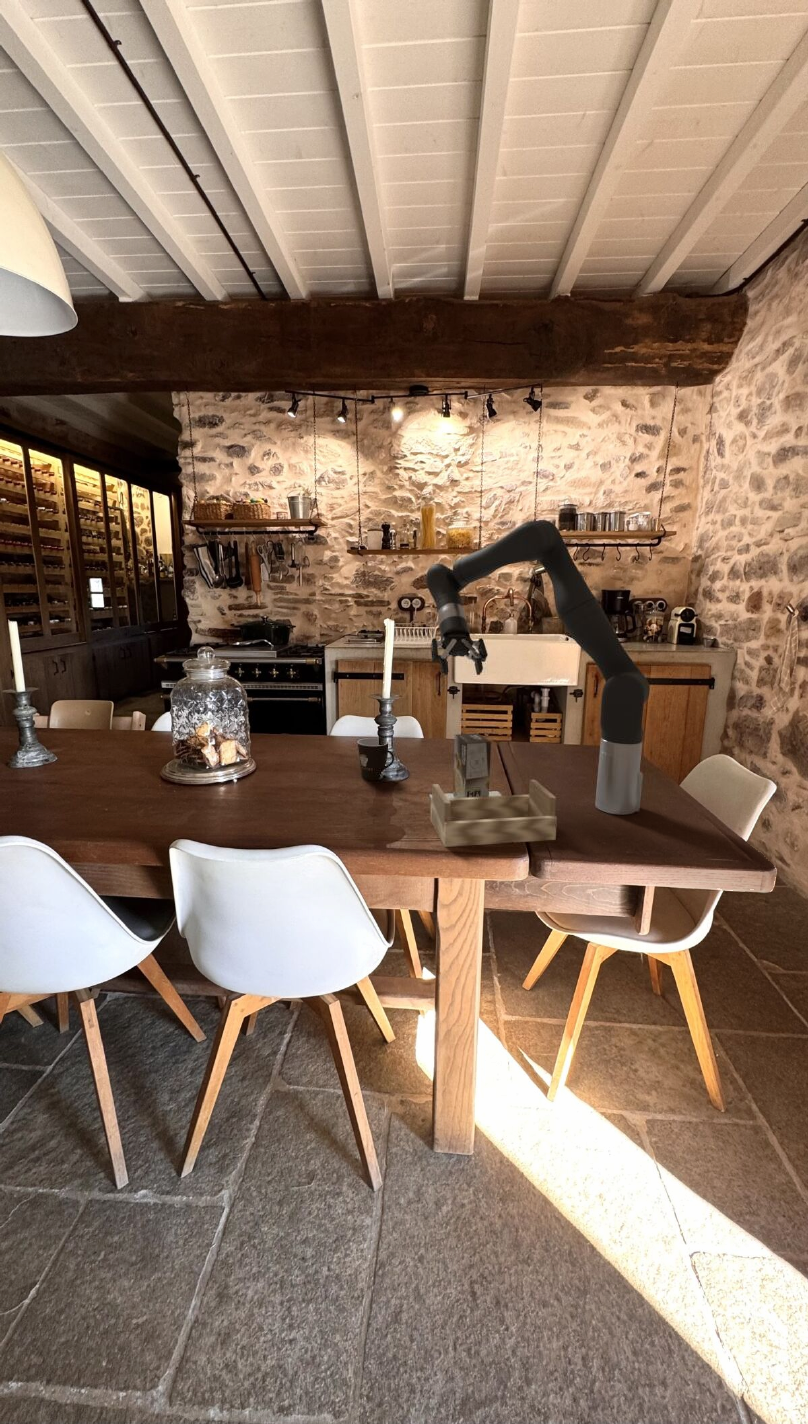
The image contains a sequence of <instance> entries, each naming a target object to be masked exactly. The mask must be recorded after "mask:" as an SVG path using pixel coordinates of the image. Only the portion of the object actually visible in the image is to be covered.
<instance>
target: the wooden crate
mask: <svg viewBox="0 0 808 1424" xmlns="http://www.w3.org/2000/svg"><path fill="white" fill-rule="evenodd" d="M431 790H432V791H431V793H432V799H431V798H430V822H431V824H432V825H433V828H434V829H435V831H436V833H437V835H438V836H439V838H440V840H441V843H442V844H443V846H444V847H445V848H448V847H464V846H465V847H466V846H478V845H493V844H495V845H496V844H497V845H498V844H508V843H509V844H510V842H511V844H512V842H513V843H524V842H525V843H527V842H542V841H543V842H544V841H556V836H557V821H558V816H557V815H555V814H556V801H557V797H556V796H555V795H554V794H552V793H551V792H550V790H548V789H547V788H545V787H544V786H543V785H542V784H541V783H540V782H538V781H537V780H536V779H529V786H528V794H513V795H502V796H489V797H469V798H449V799H448V798H447V797H446V796H445V794H446V793H445V792H444V791H443V789H442V788H441V787H440V785H439V784H438V783H436V784H435V783H433V784H432V789H431Z"/></svg>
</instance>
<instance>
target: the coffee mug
mask: <svg viewBox="0 0 808 1424" xmlns="http://www.w3.org/2000/svg"><path fill="white" fill-rule="evenodd" d="M379 738H380V737H366V738H360V739H358V740H357V748H358V749H357V750H358V756H359V764H360V765H359V766H360V774H361V778H362V779H364V780H368V781H378V780H379V778H380V774H381V772H382V771H383V770H384V769H385V770H386V769H388V768H389V767H391V766H392V765H393V764H394V761H395V755H394V753H393V752H392V751H391V750H389V745H390V744H389V743H390V741H389V740H388V742H387V744H384V745H379ZM388 754H390V756H391V761H390V762H389V764H387V760H388ZM385 764H386V766H385ZM379 781H380V780H379Z"/></svg>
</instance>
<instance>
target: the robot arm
mask: <svg viewBox="0 0 808 1424" xmlns="http://www.w3.org/2000/svg"><path fill="white" fill-rule="evenodd" d="M535 561H539V563H540V564H541V566H542V567H543V568H544V571H545V572H546V573H547V575H548V577H549V579H550V581H551V585H552V591H553V600H554V605H555V609H556V613H557V615H558V617H559V618H560V620H561V623H562V624H563V625H564V627H565V629H566V631H567V632H568V634H569V636H570V637H571V638H572V639H573V640H574V641H575V643H576V644H577V645H578V646H579V647H580V648H581V649H582V650H583V651H584V652H585V653H586V654H587V655H588V656H589V657H590V658H591V659H592V660H593V662H594V663H595V664H596V666H597V668H598V669H599V671H600V673H601V675H602V677H603V678H604V681H605V684H604V685H603V688H602V692H601V702H600V716H599V717H600V720H599V723H600V724H599V725H600V731H601V732H600V733H601V735H600V736H601V737H600V747H599V757H598V769H597V780H596V781H597V782H596V790H595V791H596V793H595V803H594V805H595V808H597V809H598V810H600V811H602V812H605V813H607V814H612V815H622V816H623V815H630V814H633V813H636V812H640V806H641V797H642V796H641V795H642V787H643V786H642V785H643V777H644V775H643V774H644V773H643V772H642V771H640V769H641V767H640V766H641V761H642V760H641V757H642V751H643V750H642V749H643V741H644V740H643V739H644V730H643V715H644V714H643V713H644V706H645V705H644V704H645V703H646V702H647V700H648V699H649V696H650V683H649V681H648V679H647V678H646V676H645V675H644V674H643V673H642V671H641V670H640V669H639V667H638V666H637V665H636V663H635V662H634V660H633V659H632V658H631V657H630V656H629V654H628V652H627V651H626V650H625V648H624V646H623V645H622V643H621V641H620V640H619V637H618V636H617V634H616V631H615V630H614V628H613V626H612V624H611V622H610V620H609V619H608V617H607V615H606V613H605V611H604V610H603V608H602V606H601V605H600V603H599V600H597V598H596V596H595V595H594V594H593V592H592V590H591V589H590V587H589V586H588V584H587V582H586V580H585V579H584V577H583V575H582V573H581V572H580V571H579V569H578V567H577V566H576V563H575V562H574V560H573V558H572V555H571V553H570V551H569V550H568V546H567V545H566V543H565V540H564V539H563V536H562V534H561V532H560V531H559V529H558V527H557V525H555V524H554V522H552V521H549V520H546V519H539V520H531V521H526V522H524V523H523V522H522V523H521V524H520V525H518V526H517V527H516V528H515V529H513V530H511V531H510V532H509V533H507V534H506V535H505V536H503V537H502V538H500V539H498V540H497V541H495V542H494V543H492V544H490V545H488V546H486V547H483V548H481V549H479V550H477V551H474V552H472V553H470V554H468V555H464V556H463V557H461V558H459V559H458V560H456V561H455V562H454V564H453V565H452V568H449V567H448V566H446V565H444V564H443V563H435V564H432V565H431V566H430V567H429V568H428V570H427V571H426V575H425V582H426V587H427V590H428V591H429V593H430V595H431V597H432V599H433V601H434V602H435V604H436V611H437V621H438V627H439V633H440V638H441V640H437V638H432V639H431V642H430V653H431V654H430V655H431V662H433V663H439V665H440V672H441V673H442V674H443V675H444V676H449V675H448V674H449V665H448V661H447V660H448V658H449V657H450V656H452V657H454V658H455V657H464V658H465V657H466V658H467V659H468V660H472V661H473V663H474V667H475V673H476V675H477V676H480V675H481V673H482V672H483V669H484V666H483V663H485V662H486V660H487V658H488V651H487V647H486V645H485V642H484V639H483V638H482V637H481V638H478V640H473V639H472V638H471V633H470V627H469V625H468V620H467V615H466V612H465V610H464V606H463V601H462V597H461V595H460V592H461V591H462V590H464V589H465V588H466V587H467V586H468V585H470V584H471V583H474V582H476V581H479V580H480V579H483V578H485V577H487V576H490V575H491V574H493V573H494V572H495V571H497V570H498V569H501V568H502V567H506V566H509V565H512V564H518V563H519V564H520V563H524V562H535ZM440 647H441V648H442V649H443V650H444V651H443V652H442V654H441V655H440V654H439V648H440ZM472 661H471V662H472Z"/></svg>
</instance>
